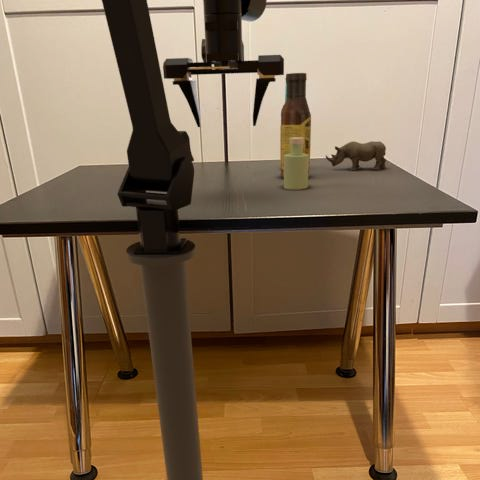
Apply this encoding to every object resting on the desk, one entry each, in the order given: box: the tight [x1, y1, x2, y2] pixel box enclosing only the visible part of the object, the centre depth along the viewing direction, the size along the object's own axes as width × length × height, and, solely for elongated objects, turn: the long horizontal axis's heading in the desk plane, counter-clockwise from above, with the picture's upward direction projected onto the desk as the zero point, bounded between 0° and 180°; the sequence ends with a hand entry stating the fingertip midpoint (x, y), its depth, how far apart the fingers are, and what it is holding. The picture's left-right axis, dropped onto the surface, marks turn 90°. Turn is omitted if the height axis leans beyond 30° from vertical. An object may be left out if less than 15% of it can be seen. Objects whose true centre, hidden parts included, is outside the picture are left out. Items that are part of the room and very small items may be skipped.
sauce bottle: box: [279, 72, 312, 179], centre depth 98 cm, size 7×6×20 cm
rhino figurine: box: [325, 140, 387, 171], centre depth 108 cm, size 4×14×6 cm, turn 84°
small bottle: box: [283, 137, 309, 191], centre depth 91 cm, size 5×5×9 cm
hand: (226, 126), depth 80 cm, fingers open, 9 cm apart
